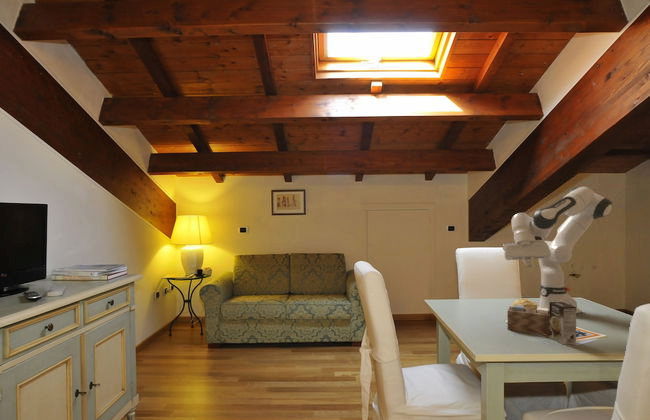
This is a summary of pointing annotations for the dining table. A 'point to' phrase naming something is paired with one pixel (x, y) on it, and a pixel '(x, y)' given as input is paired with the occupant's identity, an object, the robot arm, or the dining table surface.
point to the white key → (542, 310)
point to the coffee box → (562, 322)
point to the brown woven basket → (528, 321)
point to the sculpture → (525, 303)
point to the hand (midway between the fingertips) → (529, 266)
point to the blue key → (518, 308)
